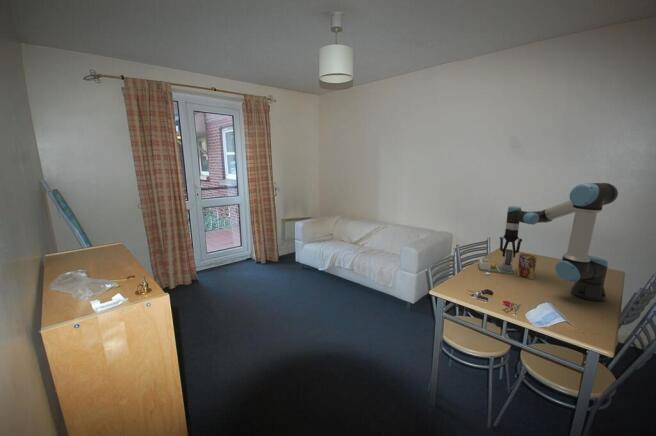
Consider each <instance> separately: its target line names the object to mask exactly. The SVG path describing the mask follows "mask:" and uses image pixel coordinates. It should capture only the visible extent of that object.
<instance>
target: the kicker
mask: <svg viewBox="0 0 656 436" xmlns="http://www.w3.org/2000/svg"><path fill="white" fill-rule="evenodd" d="M505 252H506V261H505V262H502V264H501V266H502V268H503V270H506V271H512V272H513V265H512V262H511V257H512V252H513V249H508V248H507V249H506V251H505Z"/></svg>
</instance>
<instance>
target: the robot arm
mask: <svg viewBox="0 0 656 436" xmlns="http://www.w3.org/2000/svg"><path fill="white" fill-rule="evenodd" d="M618 196H619V191H618V189H617V187H616V186H615V185H613V184H611V183H608V182H586V183H581V184H578V185H576V186H574V187H573V188H572V190H570V193H569V200H567V201H564V202H562V203H559V204H556V205H554V206H551V207H549V208H548V207H547V208H546V209H543V210H538V211H536V210H535V211H525V210H522V207H521V206H517V205H516V206H515V205H512V206H511V205H510V206H509V207H508V208H507V214H506V223H505V229H504V235H503V236H499V240H500V241H499V243H500V244H499V250H500V252H502V257H503V263H505V261H506V250H507V249H508V245H509V244H510V243H511V247H512V257H511V264H512V263H513V261H514V259H515V258H516V254H520V248H521V243H522V241H523V239H522V238H521V237H519V228H520V223H523V224H526V225H536V224H540V223H541V224H542V223H545V224H546V223H550V222H552V221H553V220H555V219H558V218H561V217H565V216H568V215H571V214H574V218H573V221H572V222H573V223H572V228H571V232H570V236H569V240H568V241H569V242H568V247H567V252H566V253H564V254H562V257H561V260H560V261H557V263H556V264H555V268H554V269H555V272H556V275H558V277H559V278H560V279H561V280H562V281H565V282H568V283H571V282H572V283H573V285H572V286H571V288H570V293H571V295H574V296H575V297H577V298H580V299H583V300H587V301H591V302H601V303H602V302H605V301H606V298H607V294H606V291H605V282H606V277H607V271H608V266H609V262H608V261H607V259H604V258H601V257H597V256H593V255H589V251H590V245H591V242H592V237H593V233H594V228H595V224H596V218H597V215H598V213H600V212H602V211H603V206H606V205H609V204H612V203H614V202H615V201H616V200H617V199H618ZM504 239H505V244H504ZM516 242H517V244H516Z"/></svg>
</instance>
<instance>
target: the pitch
mask: <svg viewBox="0 0 656 436" xmlns="http://www.w3.org/2000/svg"><path fill="white" fill-rule="evenodd" d="M491 264H492V263H490V261H489V259H487V258H479V259H478V263H477V267H478V269H479V271H480V272H487V273H494V274H502V275H504V274H505V275H512V276H513V275H514V272H513V270H512V271H506V270H503V268H502V265H496V268H492V267H491Z"/></svg>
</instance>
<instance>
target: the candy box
mask: <svg viewBox="0 0 656 436" xmlns="http://www.w3.org/2000/svg"><path fill="white" fill-rule="evenodd" d="M518 257H519V258H518V265H517V266H518V267H517V273H516V276H517V277H522V278H526V279H530V280H533V279H534V278H535V273H536V265H537V259H538V256H537V255H535V254H534V255H533V254H527V253H523V252H522V253H519V256H518Z"/></svg>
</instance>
